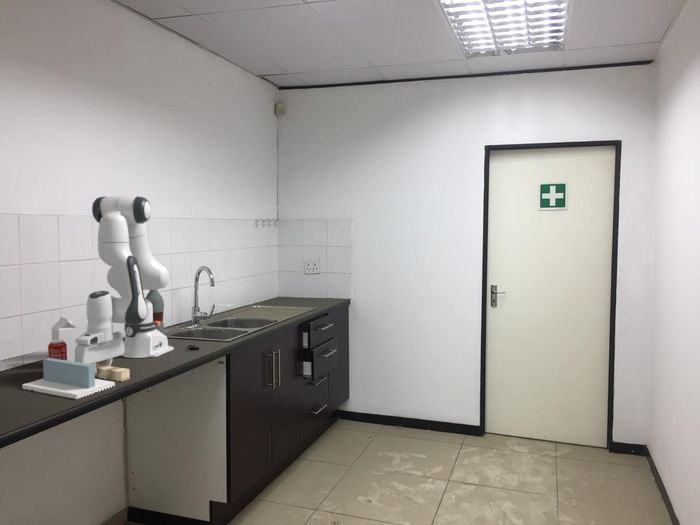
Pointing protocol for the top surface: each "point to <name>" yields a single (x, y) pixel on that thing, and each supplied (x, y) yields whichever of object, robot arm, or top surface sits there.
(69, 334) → the milk carton
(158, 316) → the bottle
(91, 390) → the ridge stand
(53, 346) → the beverage can
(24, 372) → the top surface
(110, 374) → the maple bar
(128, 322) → the robot arm
